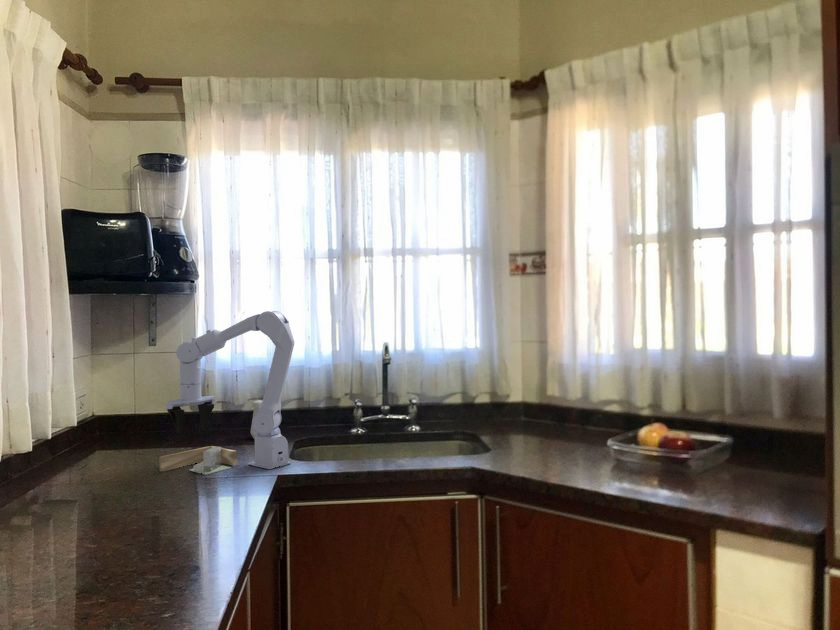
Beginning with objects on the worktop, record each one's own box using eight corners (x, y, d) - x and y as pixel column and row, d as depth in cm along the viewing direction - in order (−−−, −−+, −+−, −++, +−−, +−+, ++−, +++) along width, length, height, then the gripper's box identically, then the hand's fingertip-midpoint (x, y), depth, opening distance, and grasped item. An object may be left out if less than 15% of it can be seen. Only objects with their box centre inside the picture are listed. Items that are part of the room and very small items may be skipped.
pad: (231, 468, 176) (230, 467, 176) (205, 474, 170) (205, 473, 170) (214, 464, 181) (214, 463, 181) (189, 470, 174) (189, 469, 174)
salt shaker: (265, 439, 214) (264, 401, 214) (248, 439, 214) (247, 402, 214) (269, 436, 220) (269, 399, 220) (253, 436, 220) (252, 399, 220)
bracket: (210, 471, 172) (210, 451, 172) (193, 471, 172) (193, 451, 172) (220, 466, 178) (220, 446, 177) (204, 465, 178) (204, 446, 178)
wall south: (237, 464, 180) (237, 450, 180) (233, 465, 179) (233, 451, 179) (212, 459, 187) (212, 445, 187) (209, 459, 186) (208, 446, 186)
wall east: (212, 459, 186) (211, 446, 186) (162, 471, 174) (161, 457, 174) (209, 459, 187) (209, 445, 187) (159, 471, 174) (159, 456, 174)
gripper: (205, 380, 188) (206, 425, 188) (159, 385, 177) (160, 433, 177) (218, 381, 184) (219, 427, 184) (172, 387, 172) (173, 436, 173)
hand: (191, 430), depth 180 cm, fingers open, 7 cm apart
